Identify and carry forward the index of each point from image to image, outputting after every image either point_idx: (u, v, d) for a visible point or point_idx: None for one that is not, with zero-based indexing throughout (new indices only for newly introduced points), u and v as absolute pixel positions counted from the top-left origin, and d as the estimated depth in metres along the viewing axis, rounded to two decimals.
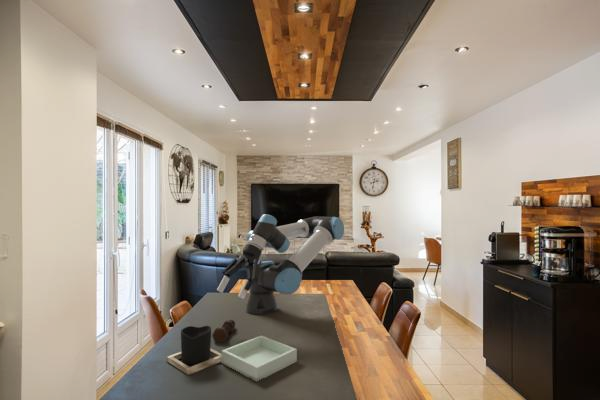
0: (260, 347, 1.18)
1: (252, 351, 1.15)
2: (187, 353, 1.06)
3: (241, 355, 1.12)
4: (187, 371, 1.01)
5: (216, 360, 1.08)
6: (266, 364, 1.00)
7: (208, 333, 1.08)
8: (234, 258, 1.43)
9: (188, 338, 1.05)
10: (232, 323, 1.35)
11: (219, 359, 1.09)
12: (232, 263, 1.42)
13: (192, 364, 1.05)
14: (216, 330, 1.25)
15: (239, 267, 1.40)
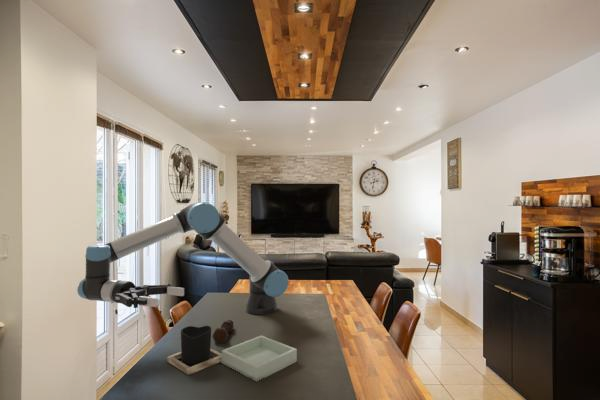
0: (260, 347, 1.18)
1: (252, 351, 1.15)
2: (187, 353, 1.06)
3: (241, 355, 1.12)
4: (187, 371, 1.01)
5: (216, 360, 1.08)
6: (266, 364, 1.00)
7: (208, 333, 1.08)
8: None
9: (188, 338, 1.05)
10: (231, 323, 1.35)
11: (219, 359, 1.09)
12: None
13: (192, 364, 1.05)
14: (216, 330, 1.24)
15: (148, 290, 1.19)
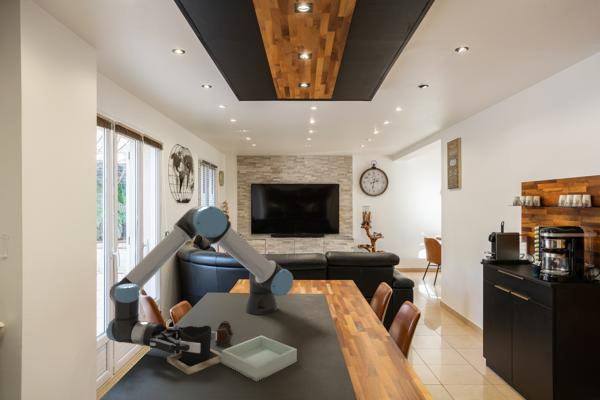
0: (260, 347, 1.18)
1: (252, 351, 1.15)
2: (187, 353, 1.06)
3: (241, 355, 1.12)
4: (187, 371, 1.01)
5: (216, 360, 1.08)
6: (266, 364, 1.00)
7: (208, 333, 1.08)
8: None
9: (188, 338, 1.05)
10: (228, 324, 1.34)
11: (219, 359, 1.09)
12: None
13: (192, 364, 1.05)
14: (218, 331, 1.23)
15: (179, 333, 1.14)
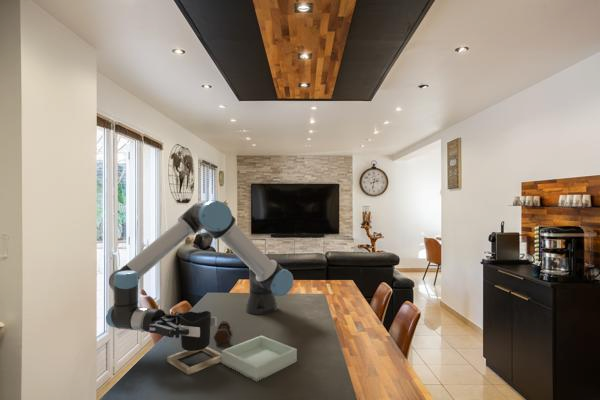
0: (260, 347, 1.18)
1: (252, 351, 1.15)
2: (186, 337, 1.06)
3: (241, 355, 1.12)
4: (187, 371, 1.01)
5: (216, 360, 1.08)
6: (266, 364, 1.00)
7: (207, 318, 1.08)
8: None
9: (187, 322, 1.05)
10: (228, 324, 1.34)
11: (219, 359, 1.09)
12: None
13: (192, 348, 1.05)
14: (218, 332, 1.23)
15: (178, 319, 1.14)
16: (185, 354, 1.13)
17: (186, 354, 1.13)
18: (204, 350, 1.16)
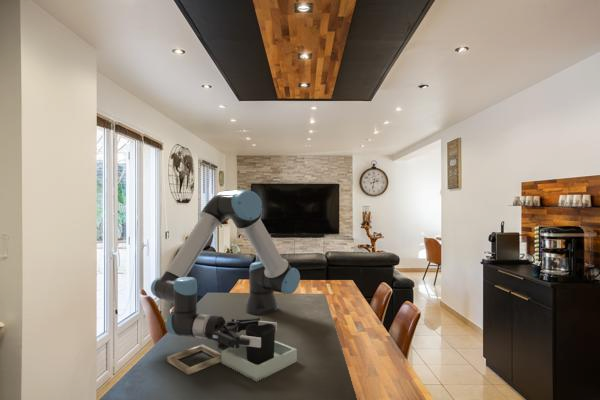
0: None
1: None
2: (254, 351, 1.05)
3: (241, 355, 1.12)
4: (187, 371, 1.01)
5: (216, 360, 1.08)
6: (266, 364, 1.00)
7: (273, 331, 1.08)
8: (237, 326, 1.19)
9: (255, 336, 1.05)
10: None
11: (219, 359, 1.09)
12: None
13: (259, 362, 1.05)
14: None
15: (240, 325, 1.14)
16: (185, 354, 1.13)
17: (186, 354, 1.13)
18: (204, 350, 1.16)
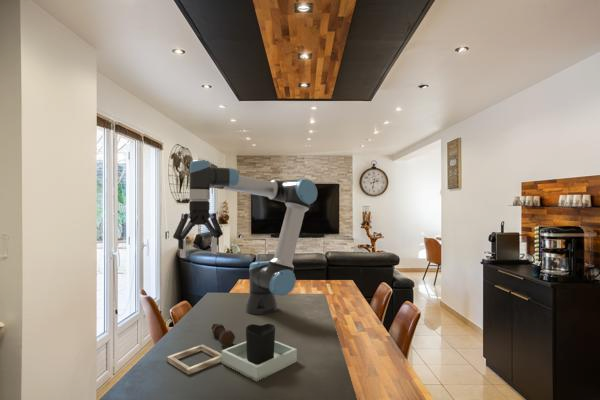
0: None
1: None
2: (254, 351, 1.05)
3: (241, 355, 1.12)
4: (187, 371, 1.01)
5: (216, 360, 1.08)
6: (266, 364, 1.00)
7: (273, 331, 1.08)
8: None
9: (255, 336, 1.05)
10: (223, 326, 1.32)
11: (219, 359, 1.09)
12: (212, 223, 1.37)
13: (259, 362, 1.05)
14: (224, 334, 1.21)
15: (207, 225, 1.33)
16: (185, 354, 1.13)
17: (186, 354, 1.13)
18: (204, 350, 1.16)
